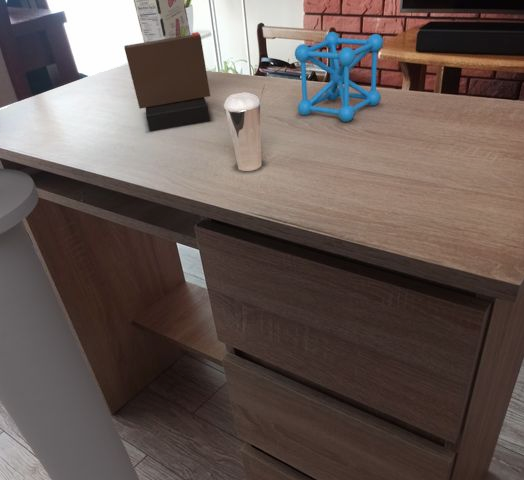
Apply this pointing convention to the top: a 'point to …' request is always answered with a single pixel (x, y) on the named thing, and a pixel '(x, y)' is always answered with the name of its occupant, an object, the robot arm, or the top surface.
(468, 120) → the top surface
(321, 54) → the molecular structure
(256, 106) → the milkshake
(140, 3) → the candy bar box
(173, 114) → the frame stand
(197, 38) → the frame
